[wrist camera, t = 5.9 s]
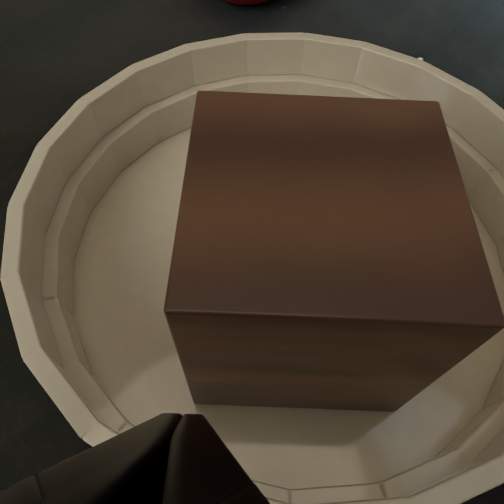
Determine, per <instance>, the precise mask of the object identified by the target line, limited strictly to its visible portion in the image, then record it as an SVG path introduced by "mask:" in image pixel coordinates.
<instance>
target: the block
mask: <svg viewBox="0 0 504 504" xmlns="http://www.w3.org/2000/svg"><path fill="white" fill-rule="evenodd" d="M163 311H164V314H165V317H166V320H167V323H168V326H169V329H170V332H171V335H172V338H173V341H174V344H175V348H176V351H177V354H178V357H179V360H180V363H181V366H182V369H183V372H184V375H185V378H186V381H187V384H188V387H189V390H190V393H191V396H192V399H193V403H194V404H208V405H234V406H260V407H285V408H311V409H337V410H362V411H388V412H395V411H397V410H398V409H399V408H401V407H402V406H403V405H404V404H406V403H407V402H408V401H410V400H411V399H412V398H414V397H415V396H416V395H418V394H419V393H420V392H421V391H423V390H424V389H425V388H427V387H428V386H429V385H431V384H432V383H433V382H434V381H436V380H437V379H438V378H440V377H441V376H442V375H444V374H445V373H446V372H448V371H449V370H450V369H451V368H453V367H454V366H455V365H457V364H458V363H459V362H461V361H462V360H463V359H464V358H466V357H467V356H468V355H470V354H471V353H472V352H474V351H475V350H476V349H478V348H479V347H480V346H481V345H483V344H484V343H485V342H487V341H488V340H489V339H491V338H492V337H493V336H494V335H496V334H497V333H498V332H500V331H501V330H502V329H504V315H503V312H502V308H501V305H500V302H499V298H498V295H497V292H496V289H495V285H494V282H493V279H492V275H491V272H490V269H489V266H488V262H487V259H486V256H485V252H484V249H483V246H482V242H481V239H480V236H479V233H478V229H477V226H476V223H475V219H474V216H473V213H472V209H471V206H470V203H469V200H468V196H467V193H466V190H465V186H464V183H463V180H462V177H461V173H460V170H459V167H458V163H457V160H456V157H455V153H454V150H453V147H452V144H451V140H450V137H449V134H448V130H447V127H446V124H445V120H444V117H443V114H442V111H441V107H440V104H439V102H437V101H421V100H399V99H377V98H355V97H333V96H310V95H288V94H266V93H244V92H222V91H198V92H197V94H196V101H195V107H194V114H193V120H192V127H191V134H190V140H189V147H188V153H187V160H186V166H185V173H184V179H183V186H182V192H181V199H180V206H179V212H178V219H177V225H176V232H175V238H174V245H173V251H172V258H171V264H170V271H169V278H168V284H167V291H166V297H165V304H164V310H163Z"/></svg>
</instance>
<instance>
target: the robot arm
mask: <svg viewBox="0 0 504 504" xmlns="http://www.w3.org/2000/svg"><path fill="white" fill-rule="evenodd" d="M0 504H270V502H269V501H268V500H267V499H266V497H265V496H264V495H263V494H262V492H261V491H260V490H259V488H258V487H257V486H256V484H254V483H253V481H252V480H251V479H250V477H249V476H248V475H247V473H246V472H245V471H244V469H243V468H242V467H241V465H240V464H239V462H238V461H237V460H236V458H235V457H234V456H233V454H232V453H231V452H230V450H229V449H228V448H227V446H226V445H225V444H224V442H223V441H222V439H221V438H220V437H219V435H218V434H217V433H216V431H215V430H214V429H213V427H212V426H211V425H210V423H209V422H208V421H207V419H206V418H205V417H204V415H202V414H184V415H183V416H182V415H181V414H180V413H162V414H160V415H158V416H156V417H154V418H152V419H149V420H147V421H145V422H143V423H141V424H139V425H137V426H135V427H133V428H131V429H129V430H127V431H125V432H123V433H120V434H118V435H116V436H114V437H112V438H110V439H108V440H106V441H104V442H102V443H100V444H98V445H96V446H94V447H91V448H89V449H87V450H85V451H83V452H81V453H79V454H77V455H75V456H73V457H71V458H69V459H67V460H64V461H62V462H60V463H58V464H56V465H54V466H52V467H50V468H48V469H46V470H44V471H42V472H40V473H38V474H36V475H35V476H29V477H27V478H25V479H23V480H21V481H19V482H17V483H15V484H13V485H11V486H9V487H6V488H4V489H2V490H0Z"/></svg>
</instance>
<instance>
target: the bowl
mask: <svg viewBox="0 0 504 504" xmlns="http://www.w3.org/2000/svg"><path fill="white" fill-rule="evenodd" d="M198 91H222V92H244V93H266V94H288V95H310V96H333V97H355V98H377V99H399V100H421V101H437V102H439V104H440V107H441V111H442V114H443V117H444V120H445V124H446V127H447V130H448V134H449V137H450V140H451V144H452V147H453V150H454V153H455V157H456V160H457V163H458V167H459V170H460V173H461V177H462V180H463V183H464V186H465V190H466V193H467V196H468V200H469V203H470V206H471V209H472V213H473V216H474V219H475V223H476V226H477V229H478V233H479V236H480V239H481V242H482V246H483V249H484V252H485V256H486V259H487V262H488V266H489V269H490V272H491V275H492V279H493V282H494V285H495V289H496V292H497V295H498V298H499V302H500V305H501V308H502V312H503V315H504V110H503V109H502V108H501V107H500V106H499V105H497V104H496V103H495V102H494V101H492V100H491V99H490V98H489V97H487V96H486V95H485V94H484V93H482V92H481V91H480V92H479V90H478V89H476V88H474V87H472V86H470V85H468V84H466V83H465V82H463V81H461V80H459V79H457V78H455V77H453V76H451V75H450V74H448V73H446V72H444V71H442V70H440V69H438V68H436V67H434V66H433V65H431V64H429V63H427V62H423V60H420V59H417V58H414V57H411V56H408V55H405V54H401V53H398V52H395V51H392V50H389V49H386V48H383V47H380V46H377V45H374V44H371V43H368V42H364V41H358V40H351V39H344V38H338V37H331V36H325V35H318V34H312V33H245V34H244V33H243V34H237V35H232V36H226V37H221V38H216V39H210V40H205V41H199V42H194V43H188V44H187V45H186V44H184V45H181V46H179V47H176V48H174V49H171V50H168V51H166V52H163V53H160V54H158V55H155V56H153V57H150V58H147V59H145V60H142V61H140V62H137V63H134V64H132V65H130V66H128V67H127V68H125V69H124V70H122V71H121V72H119V73H118V74H116V75H115V76H113V77H112V78H110V79H108V80H107V81H105V82H104V83H102V84H101V85H99V86H98V87H96V88H95V89H93V90H92V91H90V92H89V93H87V94H86V95H84V96H82V97H81V98H80V99H78V100H77V101H76V102H75V103H74V104H73V106H72V107H71V108H70V109H69V110H68V111H67V112H66V113H65V114H64V115H63V116H62V118H61V119H60V120H59V121H58V122H57V123H56V124H55V125H54V126H53V127H52V128H51V130H50V131H49V132H48V133H47V134H46V135H45V136H44V137H43V138H42V139H41V140H40V141H39V143H38V144H37V146H36V147H35V149H34V151H33V153H32V155H31V158H30V160H29V162H28V164H27V166H26V168H25V170H24V172H23V174H22V176H21V178H20V180H19V183H18V185H17V187H16V189H15V191H14V193H13V195H12V197H11V199H10V201H9V204H8V205H9V206H8V208H7V217H6V227H5V237H4V246H3V256H2V265H1V275H0V277H1V278H0V280H1V284H2V288H3V291H4V295H5V299H6V302H7V306H8V309H9V313H10V317H11V320H12V324H13V328H14V331H15V335H16V339H17V342H18V346H19V350H20V353H21V357H22V359H23V361H24V363H25V364H26V365H27V367H28V368H29V369H30V371H31V372H32V373H33V375H34V376H35V377H36V379H37V380H38V382H39V383H40V384H41V386H42V387H43V388H44V390H45V391H46V392H47V394H48V395H49V396H50V398H51V399H52V400H53V402H54V403H55V405H56V406H57V407H58V409H59V410H60V411H61V413H62V414H63V415H64V417H65V418H66V419H67V421H68V422H69V424H70V425H71V426H72V428H73V429H74V430H75V432H76V433H77V434H78V436H79V437H80V438H81V439H83V441H85V442H86V443H88V444H89V445H91V446H92V447H94V446H96V445H98V444H100V443H102V442H104V441H106V440H108V439H110V438H112V437H114V436H116V435H118V434H120V433H123V432H125V431H127V430H129V429H131V428H133V427H135V426H137V425H139V424H141V423H143V422H145V421H147V420H149V419H152V418H154V417H156V416H158V415H160V414H162V413H180V414H181V415H182V416H183V415H184V414H202V415H204V417H205V418H206V419H207V421H208V422H209V423H210V425H211V426H212V427H213V429H214V430H215V431H216V433H217V434H218V435H219V437H220V438H221V439H222V441H223V442H224V444H225V445H226V446H227V448H228V449H229V450H230V452H231V453H232V454H233V456H234V457H235V458H236V460H237V461H238V462H239V464H240V465H241V467H242V468H243V469H244V471H245V472H246V473H247V475H248V476H249V477H250V479H251V480H252V481H253V483H254V484H256V486H257V487H258V488H259V490H260V491H261V492H262V494H263V495H264V496H265V497H266V499H267V500H268V501H269V502H270V504H462V503H464V502H466V501H468V500H470V499H472V498H474V497H476V496H478V495H480V494H483V493H485V492H487V491H489V490H491V489H493V488H495V487H497V486H499V485H501V484H504V329H502V330H501V331H500V332H498V333H497V334H496V335H494V336H493V337H492V338H491V339H489V340H488V341H487V342H485V343H484V344H483V345H481V346H480V347H479V348H478V349H476V350H475V351H474V352H472V353H471V354H470V355H468V356H467V357H466V358H464V359H463V360H462V361H461V362H459V363H458V364H457V365H455V366H454V367H453V368H451V369H450V370H449V371H448V372H446V373H445V374H444V375H442V376H441V377H440V378H438V379H437V380H436V381H434V382H433V383H432V384H431V385H429V386H428V387H427V388H425V389H424V390H423V391H421V392H420V393H419V394H418V395H416V396H415V397H414V398H412V399H411V400H410V401H408V402H407V403H406V404H404V405H403V406H402V407H401V408H399V409H398V410H397V411H395V412H388V411H362V410H337V409H311V408H285V407H260V406H234V405H208V404H194V403H193V399H192V396H191V393H190V390H189V387H188V384H187V381H186V378H185V375H184V372H183V369H182V366H181V363H180V360H179V357H178V354H177V351H176V348H175V344H174V341H173V338H172V335H171V332H170V329H169V326H168V323H167V320H166V317H165V314H164V311H163V310H164V304H165V297H166V291H167V284H168V278H169V271H170V264H171V258H172V251H173V245H174V238H175V232H176V225H177V219H178V212H179V206H180V199H181V192H182V186H183V179H184V173H185V166H186V160H187V153H188V147H189V140H190V134H191V127H192V120H193V114H194V107H195V101H196V94H197V92H198Z"/></svg>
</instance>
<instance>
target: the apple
mask: <svg viewBox="0 0 504 504" xmlns="http://www.w3.org/2000/svg"><path fill="white" fill-rule="evenodd" d="M225 1H228V2H230V3H233V4H239V5H253V4H259V3H263V2H266V1H268V0H225Z"/></svg>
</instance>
